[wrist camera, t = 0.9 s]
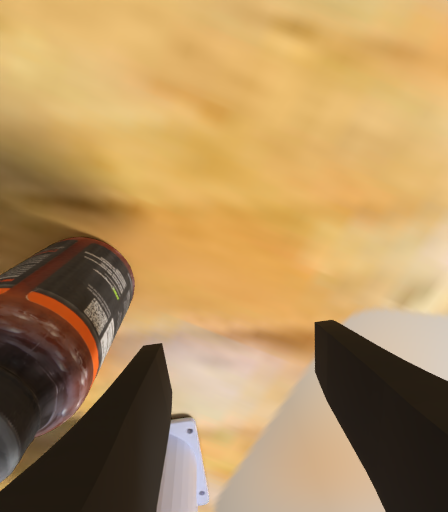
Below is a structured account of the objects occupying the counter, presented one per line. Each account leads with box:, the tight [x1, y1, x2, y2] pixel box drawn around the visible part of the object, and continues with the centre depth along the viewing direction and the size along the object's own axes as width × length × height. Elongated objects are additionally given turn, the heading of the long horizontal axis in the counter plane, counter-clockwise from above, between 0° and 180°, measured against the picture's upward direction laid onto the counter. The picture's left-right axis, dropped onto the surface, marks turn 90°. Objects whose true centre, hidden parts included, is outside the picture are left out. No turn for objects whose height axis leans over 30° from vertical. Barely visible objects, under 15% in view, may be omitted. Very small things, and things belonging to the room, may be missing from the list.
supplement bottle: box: [0, 237, 135, 482], centre depth 13 cm, size 6×6×11 cm
